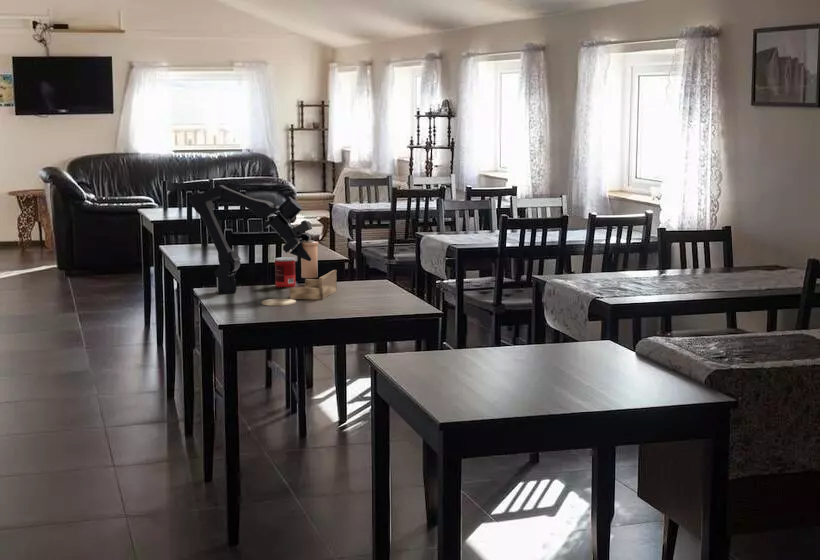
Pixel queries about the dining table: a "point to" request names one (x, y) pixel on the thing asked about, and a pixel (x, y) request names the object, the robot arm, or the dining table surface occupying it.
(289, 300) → the cream flat disc
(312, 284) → the cold frame
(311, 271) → the terracotta pot
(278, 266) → the canned food
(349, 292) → the dining table surface
